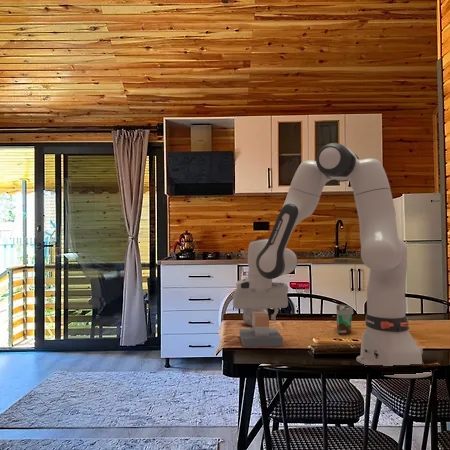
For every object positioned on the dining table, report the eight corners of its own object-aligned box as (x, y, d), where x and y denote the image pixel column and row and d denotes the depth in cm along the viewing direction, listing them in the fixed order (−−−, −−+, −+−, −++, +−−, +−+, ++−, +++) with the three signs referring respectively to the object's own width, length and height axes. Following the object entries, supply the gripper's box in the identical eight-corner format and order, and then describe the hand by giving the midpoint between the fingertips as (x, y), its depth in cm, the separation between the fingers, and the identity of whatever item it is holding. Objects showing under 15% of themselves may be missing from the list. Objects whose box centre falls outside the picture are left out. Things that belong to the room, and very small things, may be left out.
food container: (355, 336, 154) (355, 310, 154) (339, 335, 155) (338, 309, 156) (352, 328, 166) (351, 304, 166) (336, 328, 168) (336, 304, 168)
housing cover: (265, 320, 153) (265, 311, 153) (269, 326, 144) (269, 316, 144) (252, 321, 152) (252, 311, 153) (255, 326, 143) (255, 316, 144)
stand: (282, 346, 141) (282, 337, 141) (243, 347, 141) (243, 338, 141) (275, 336, 155) (275, 328, 155) (239, 336, 155) (239, 329, 155)
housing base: (265, 330, 153) (265, 320, 153) (269, 336, 144) (269, 326, 144) (252, 330, 153) (252, 321, 153) (255, 336, 144) (255, 326, 144)
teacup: (239, 323, 178) (238, 305, 178) (261, 321, 182) (261, 303, 182) (252, 330, 165) (251, 310, 165) (275, 328, 169) (275, 309, 169)
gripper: (286, 281, 152) (286, 317, 152) (232, 282, 151) (232, 319, 151) (289, 283, 146) (290, 321, 145) (233, 284, 145) (234, 322, 144)
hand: (260, 320), depth 148 cm, fingers open, 8 cm apart
